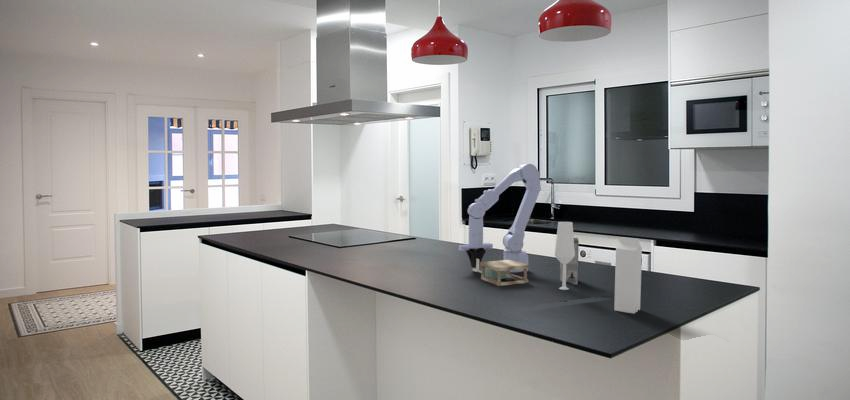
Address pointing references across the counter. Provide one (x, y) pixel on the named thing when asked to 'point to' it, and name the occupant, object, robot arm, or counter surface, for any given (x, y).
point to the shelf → (498, 282)
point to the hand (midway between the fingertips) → (475, 267)
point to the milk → (628, 275)
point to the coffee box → (571, 266)
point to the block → (489, 272)
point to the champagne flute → (564, 247)
